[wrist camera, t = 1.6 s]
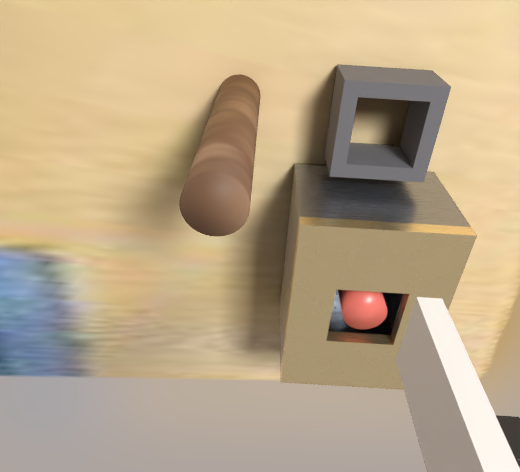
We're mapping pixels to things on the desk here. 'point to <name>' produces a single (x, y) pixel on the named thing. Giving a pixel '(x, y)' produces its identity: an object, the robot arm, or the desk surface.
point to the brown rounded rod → (224, 162)
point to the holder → (414, 133)
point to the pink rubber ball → (362, 308)
